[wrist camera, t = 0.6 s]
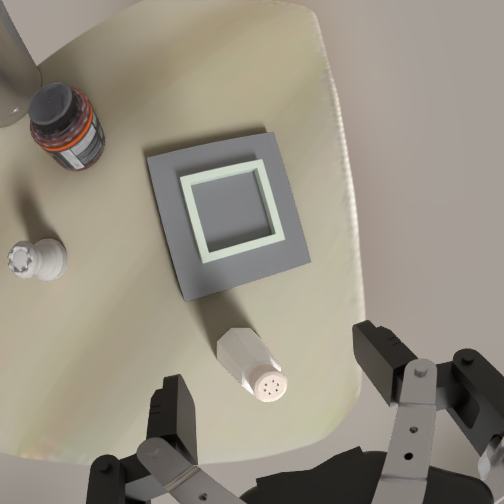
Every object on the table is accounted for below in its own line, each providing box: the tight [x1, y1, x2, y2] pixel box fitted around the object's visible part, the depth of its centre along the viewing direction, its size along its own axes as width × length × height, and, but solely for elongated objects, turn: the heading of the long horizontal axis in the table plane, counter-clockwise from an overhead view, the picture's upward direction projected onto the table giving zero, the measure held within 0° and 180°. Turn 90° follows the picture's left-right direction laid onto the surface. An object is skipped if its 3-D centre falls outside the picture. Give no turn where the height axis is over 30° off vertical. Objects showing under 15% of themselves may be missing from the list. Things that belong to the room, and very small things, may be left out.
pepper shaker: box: [217, 328, 287, 402], centre depth 28 cm, size 5×5×11 cm
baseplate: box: [147, 132, 311, 302], centre depth 32 cm, size 15×14×3 cm
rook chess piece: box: [8, 239, 67, 281], centre depth 24 cm, size 4×4×8 cm
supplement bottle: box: [28, 82, 105, 171], centre depth 24 cm, size 6×6×11 cm
